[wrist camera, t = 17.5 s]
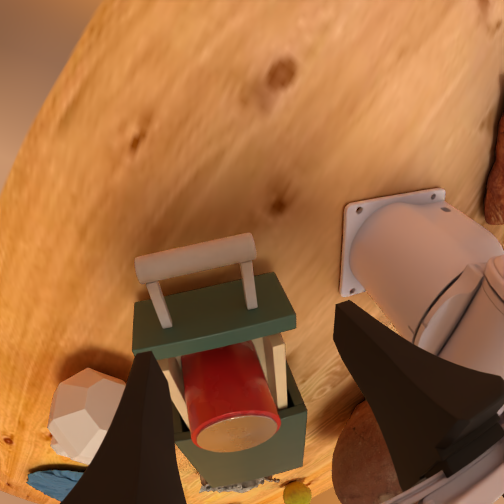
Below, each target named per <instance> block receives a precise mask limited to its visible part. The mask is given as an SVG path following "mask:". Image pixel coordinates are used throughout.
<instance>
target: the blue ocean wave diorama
mask: <svg viewBox="0 0 504 504" xmlns="http://www.w3.org/2000/svg"><path fill="white" fill-rule="evenodd" d="M82 475H83V473H80V472H71V471H68V470H65V471H60V470H56V469H54V470H53V471H52V470H51V469H50V470H49V469H48V470H47V471H37V472H34V473H30V474H28V478H29V480H28V482H26V483H28V484H29V485H30V486H32V487H33V488H35V489H36V490H39V491H41V492H43V493H44V494H45V495H48V496H50V497H51V498H55V499H56V500H58V501H61V502H62V501H63V499H64V498H65V497H66V496H67V495H68V493H69V492H70V491H71V490H72V489H73V487H74V486H75V485H76V483H77V482H78V480H79V479H80V478H81V476H82Z"/></svg>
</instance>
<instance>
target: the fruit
mask: <svg viewBox="0 0 504 504" xmlns="http://www.w3.org/2000/svg"><path fill="white" fill-rule="evenodd" d="M311 496H312V495H311V490H310V489H309V488H308V487H307V486H306V485H305V484H303V483H301V482H298V481H295V482H291V483H289V484H287V485H286V487H285V489H284V492H283V499H284V502H285V504H310V500H311Z"/></svg>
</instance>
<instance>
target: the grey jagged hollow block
mask: <svg viewBox="0 0 504 504" xmlns="http://www.w3.org/2000/svg"><path fill="white" fill-rule="evenodd" d="M199 474H200V473H199ZM272 476H273V475H271V476H267V477H263V478H259V479H255V480H250V481H246V482H241V483H236V484H232V485H226V486H221V487H216V488H212V487H211V486H210V485H209V484H208V482H207V481H206V480H205V479H204V478H203V477H202V476H201V474H200V480H201V484H202V485H203V486H201V489H200V492H199V493H201V492H203V491H207V492H209V491H210V490H211V491H213V492H215V491H216V490H217V491H218V492H219V493H221V492H222V491H227V492H229V491H235V492H239V493H244V492H247V491H249V490H251V489H252V488H254V487H258V485H259V484H264V479H265V480H267V481H269V482H272V481H274V482H277V483H278V482H279V481H280V480H279V479H276V478H274V479H272Z"/></svg>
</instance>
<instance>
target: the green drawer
mask: <svg viewBox="0 0 504 504" xmlns="http://www.w3.org/2000/svg"><path fill="white" fill-rule="evenodd" d="M254 259H256V247H255V242H254V239H253V236H252V234H251V233H249V232H248V233H244V234H239V235H234V236H229V237H225V238H220V239H215V240H211V241H206V242H201V243H197V244H192V245H188V246H183V247H179V248H174V249H170V250H165V251H161V252H156V253H152V254H147V255H143V256H138V257H136V258H135V262H134V263H135V271H136V275H137V278H138V280H139V282H140V283H141V284H145V283H146V286H147V289H148V292H149V295H150V297H151V299H149V300H144V301H140V302H135V304H134V319H133V338H132V352H133V354H134V356H135V355H136V354H137V353H142V352H147V351H152V352H153V354H154V356H155V358H156V360H157V362H158V364H159V366H160V368H161V370H162V371H163V373H164V375H165V377H166V379H167V381H168V384H169V390H170V396H171V399H172V401H173V403H174V404H175V406H176V408H177V410H178V411H179V413H180V415H181V416H182V418H183V420H184V421H185V423H186V425H187V426H188V428H189V430H190V427H189V421H188V414H187V408H186V400H185V393H184V386H183V378H182V369H181V361H180V359H181V356H182V355H187V354H192V353H197V352H201V351H206V350H211V349H215V348H220V347H224V346H228V345H233V344H237V343H241V342H245V341H249V340H251V341H252V342H253V343H254V345H255V348H256V351H257V354H258V357H259V360H260V362H261V365H262V368H263V371H264V374H265V377H266V380H267V383H268V385H269V388H270V391H271V394H272V397H273V400H274V402H275V405H276V408H277V411H281V410H284V409H287V383H286V359H285V343H284V341H283V339H282V336H281V334H280V333H281V332H284V331H288V330H292V329H295V328H296V313H295V311H294V309H293V307H292V305H291V303H290V301H289V299H288V297H287V296H286V294H285V292H284V290H283V288H282V286H281V284H280V282H279V280H278V278H277V276H276V274H275V273H274V272H271V273H267V274H262V275H258V276H254V273H253V265H252V260H254ZM236 263H239V264H240V270H241V277H242V279H240V280H236V281H232V282H227V283H223V284H218V285H214V286H209V287H205V288H200V289H196V290H191V291H187V292H182V293H177V294H173V295H168V296H163V293H162V290H161V287H160V285H159V282H158V281H159V280H164V279H168V278H173V277H177V276H182V275H186V274H191V273H196V272H200V271H205V270H209V269H214V268H218V267H223V266H227V265H232V264H236Z"/></svg>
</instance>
